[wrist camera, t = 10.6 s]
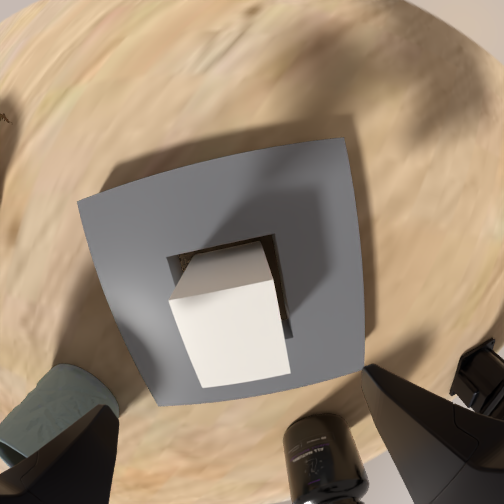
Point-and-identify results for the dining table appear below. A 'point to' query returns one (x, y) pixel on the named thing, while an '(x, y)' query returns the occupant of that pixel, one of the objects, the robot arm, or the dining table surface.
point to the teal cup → (51, 411)
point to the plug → (230, 316)
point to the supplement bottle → (323, 462)
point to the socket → (227, 231)
